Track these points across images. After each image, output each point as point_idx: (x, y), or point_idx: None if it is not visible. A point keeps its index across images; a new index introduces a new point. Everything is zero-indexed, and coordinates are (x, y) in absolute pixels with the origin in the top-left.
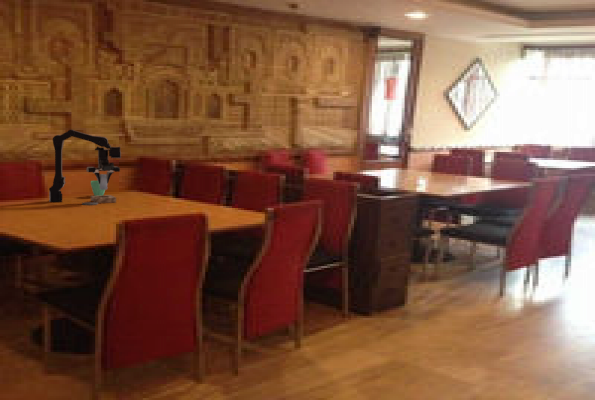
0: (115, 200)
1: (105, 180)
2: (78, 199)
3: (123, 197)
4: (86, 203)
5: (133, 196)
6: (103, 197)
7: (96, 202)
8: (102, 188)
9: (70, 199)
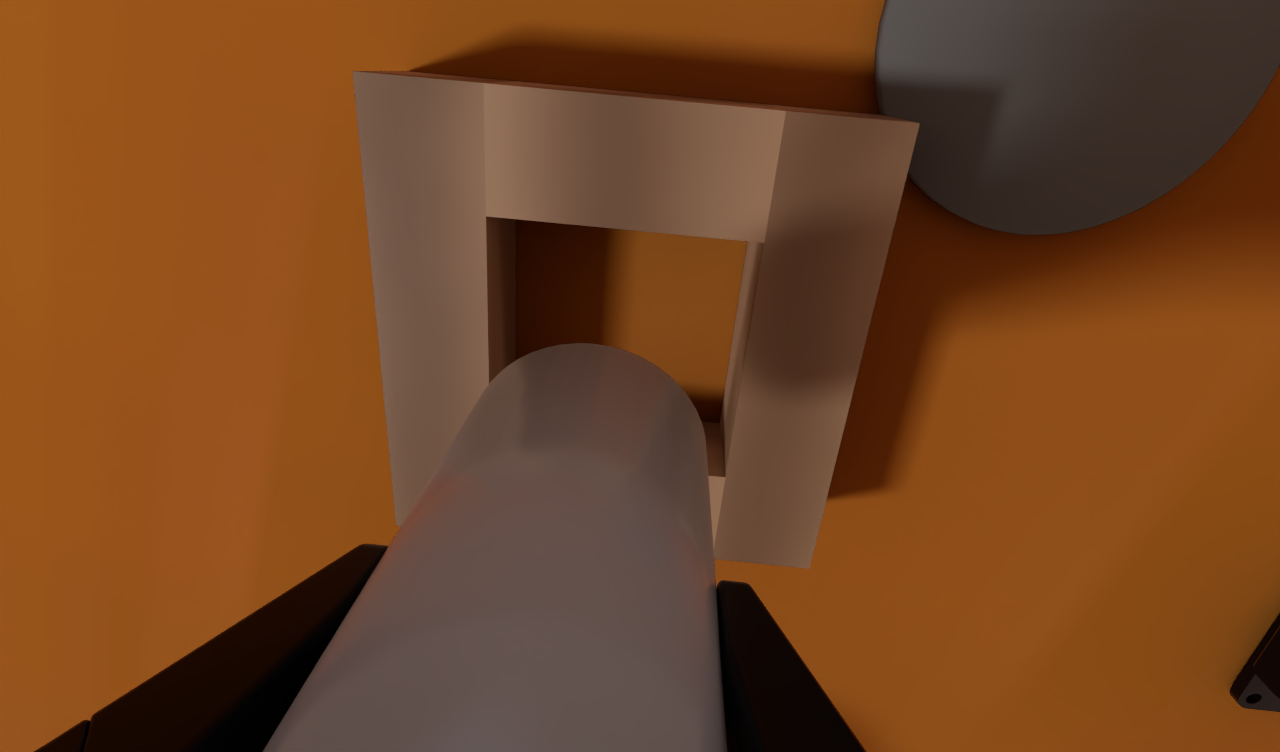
0: (402, 73)
1: (451, 568)
2: (894, 697)
3: (173, 632)
4: (1193, 12)
5: (13, 662)
6: (660, 228)
7: (882, 97)
8: (655, 382)
9: (999, 735)
